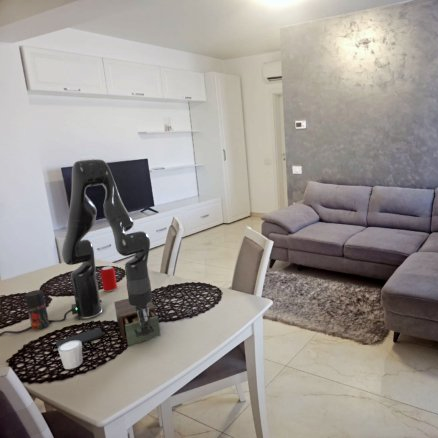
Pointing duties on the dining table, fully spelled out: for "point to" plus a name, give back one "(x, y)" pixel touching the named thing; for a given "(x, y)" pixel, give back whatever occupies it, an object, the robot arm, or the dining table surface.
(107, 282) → the beverage can
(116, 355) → the dining table surface
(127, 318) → the drawer
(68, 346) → the white cup
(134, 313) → the cabinet
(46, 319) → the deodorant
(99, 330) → the phone
